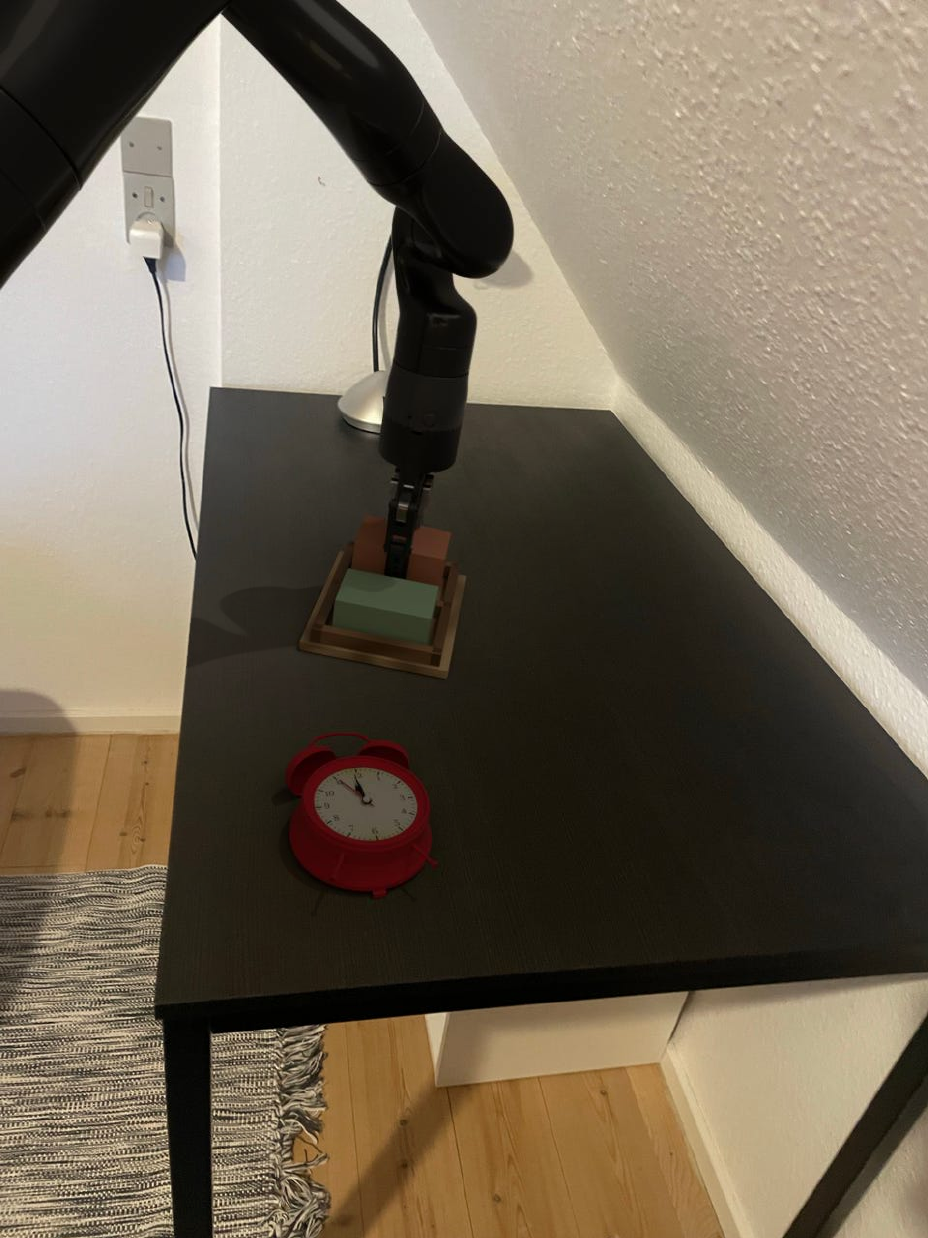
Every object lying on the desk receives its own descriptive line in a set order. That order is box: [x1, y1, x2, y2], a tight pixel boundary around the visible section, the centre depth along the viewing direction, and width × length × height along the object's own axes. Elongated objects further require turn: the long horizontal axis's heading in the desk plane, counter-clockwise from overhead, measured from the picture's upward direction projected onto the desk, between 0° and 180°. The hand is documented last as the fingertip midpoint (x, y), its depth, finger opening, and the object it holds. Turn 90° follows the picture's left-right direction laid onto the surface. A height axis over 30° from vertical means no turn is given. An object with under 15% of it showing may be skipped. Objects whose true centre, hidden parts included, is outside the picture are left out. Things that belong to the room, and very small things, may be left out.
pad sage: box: [332, 568, 439, 645], centre depth 90 cm, size 9×6×4 cm, turn 84°
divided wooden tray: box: [298, 540, 467, 680], centre depth 94 cm, size 14×18×2 cm
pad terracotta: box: [351, 514, 452, 593], centre depth 96 cm, size 9×6×4 cm, turn 84°
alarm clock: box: [285, 731, 439, 900], centre depth 70 cm, size 10×6×15 cm
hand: (399, 565), depth 97 cm, fingers closed on pad terracotta, 6 cm apart
